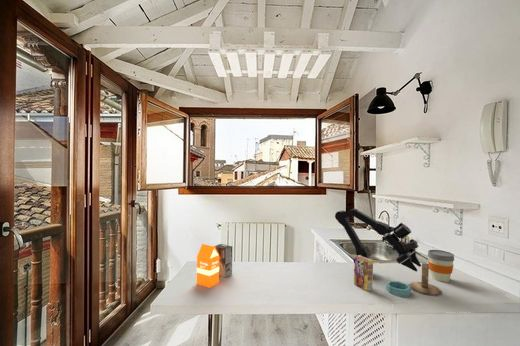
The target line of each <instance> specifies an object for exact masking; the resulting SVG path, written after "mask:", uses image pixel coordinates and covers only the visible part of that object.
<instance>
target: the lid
mask: <svg viewBox="0 0 520 346" xmlns="http://www.w3.org/2000/svg"><path fill="white" fill-rule="evenodd" d="M429 275H430V269H429V264H428V262H422V263H421V281H413V282H410V283H409V284H410V287H411V288H412V289H413V290H415V291H417V292H419V293H418V294H420V293H423V294H427V295H426V296H428V295H438V294H439V293H440V290H441V289H440V288H439V287H437V286H435V285H433V284H431V283H429ZM413 290H412V291H413ZM417 292H416V293H417ZM423 294H422V295H423Z"/></svg>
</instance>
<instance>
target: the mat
mask: <svg viewBox="0 0 520 346" xmlns="http://www.w3.org/2000/svg"><path fill="white" fill-rule="evenodd" d="M410 284H411V283H409V284H407V285H408V286H409V287H410ZM410 288H411V287H410ZM411 291H413V292H414V293H417V294H419V295H423V296H430V297H439V296H442V295H443V291H442V290H441V289H440V293H439V294H438V295H427V294H423V293H419V292H417V291H415V290H413V289H412V288H411Z"/></svg>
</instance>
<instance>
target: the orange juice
mask: <svg viewBox="0 0 520 346" xmlns="http://www.w3.org/2000/svg"><path fill="white" fill-rule="evenodd" d="M215 246H216V245H210V244H204V243H202V244H201V247H200V249H199V251H198V252H197V254H196V255H197V256H196V284H197V285H199V284H200V286H202V285H203V286H202V287H205V286H206V288H212V287H213V286H215V285H217V284H218V283H219V284H220V276H219V254H218V252H217V250H216V248H215Z"/></svg>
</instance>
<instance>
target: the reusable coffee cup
mask: <svg viewBox="0 0 520 346" xmlns="http://www.w3.org/2000/svg"><path fill="white" fill-rule="evenodd" d="M454 261H455V254H454V253H451V252H449V251H446V250H440V249H429V250H428V252H427V264H429V275H430V278H431V279H432V280H435V281H437V282H442V283H443V282H444V283H448V282H450V281H451V275H452V273H453V271H454Z"/></svg>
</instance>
